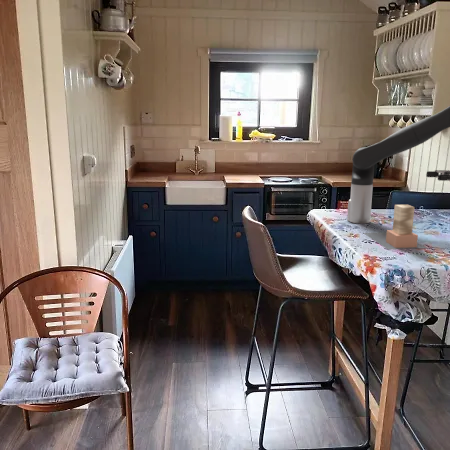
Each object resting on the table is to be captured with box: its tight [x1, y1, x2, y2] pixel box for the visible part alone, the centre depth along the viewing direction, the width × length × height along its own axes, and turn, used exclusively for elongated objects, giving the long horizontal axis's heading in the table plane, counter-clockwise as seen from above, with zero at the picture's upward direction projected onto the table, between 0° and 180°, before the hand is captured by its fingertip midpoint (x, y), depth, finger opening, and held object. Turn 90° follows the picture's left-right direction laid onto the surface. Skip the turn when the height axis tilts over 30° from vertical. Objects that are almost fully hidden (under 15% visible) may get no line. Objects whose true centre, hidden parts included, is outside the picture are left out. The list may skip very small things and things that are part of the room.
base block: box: [386, 229, 419, 248], centre depth 169 cm, size 8×8×4 cm
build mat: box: [363, 231, 428, 251], centre depth 175 cm, size 15×23×1 cm, turn 5°
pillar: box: [392, 204, 415, 235], centre depth 167 cm, size 5×5×10 cm
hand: (432, 175), depth 175 cm, fingers open, 8 cm apart
